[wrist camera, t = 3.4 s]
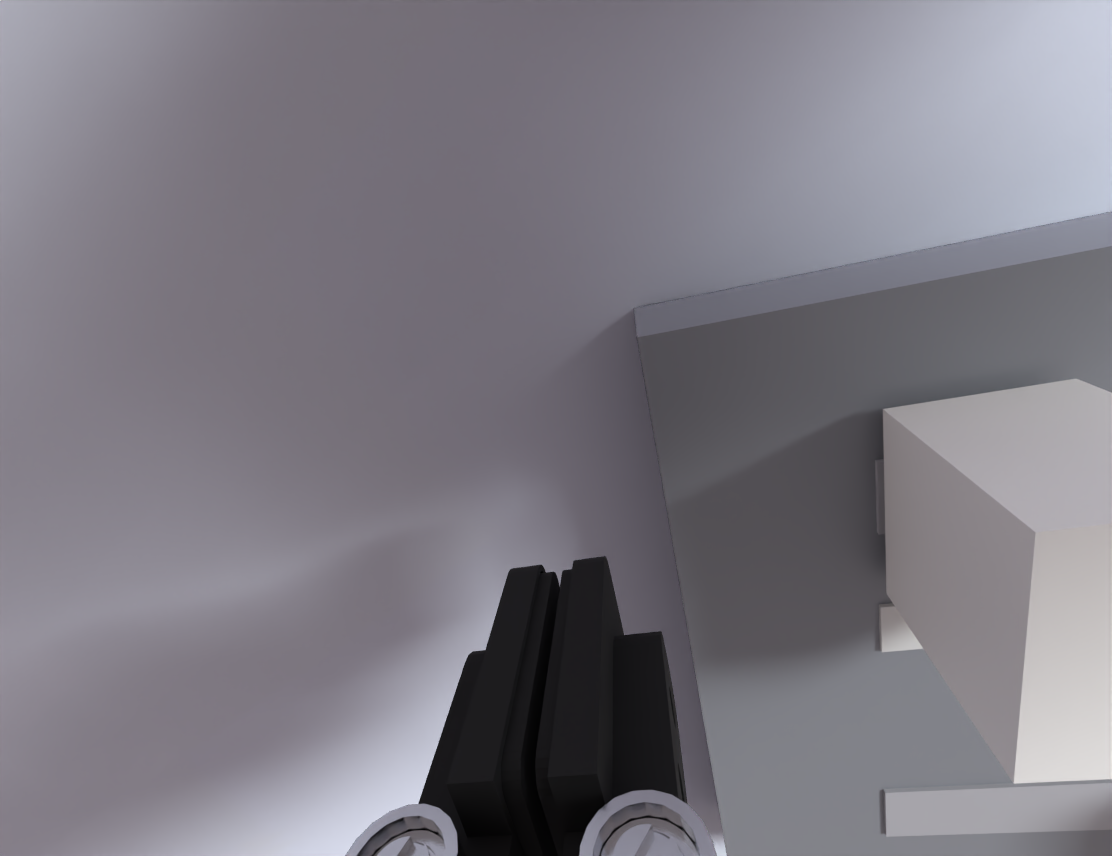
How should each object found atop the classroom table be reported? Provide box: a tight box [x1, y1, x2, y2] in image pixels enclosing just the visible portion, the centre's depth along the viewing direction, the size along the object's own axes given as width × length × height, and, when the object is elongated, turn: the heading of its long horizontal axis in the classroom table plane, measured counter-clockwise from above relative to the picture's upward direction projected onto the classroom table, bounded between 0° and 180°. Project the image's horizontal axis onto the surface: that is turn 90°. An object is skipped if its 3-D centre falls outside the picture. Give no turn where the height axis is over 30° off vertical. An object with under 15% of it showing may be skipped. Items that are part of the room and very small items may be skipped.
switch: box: [883, 379, 1112, 784], centre depth 9 cm, size 4×3×4 cm
